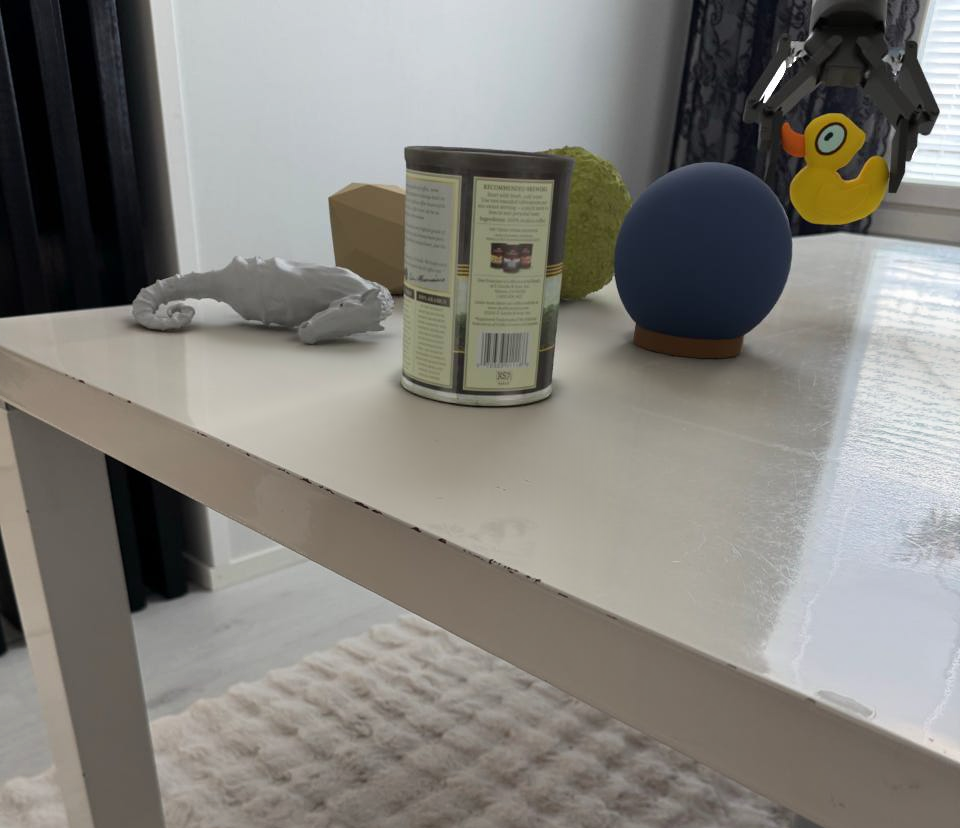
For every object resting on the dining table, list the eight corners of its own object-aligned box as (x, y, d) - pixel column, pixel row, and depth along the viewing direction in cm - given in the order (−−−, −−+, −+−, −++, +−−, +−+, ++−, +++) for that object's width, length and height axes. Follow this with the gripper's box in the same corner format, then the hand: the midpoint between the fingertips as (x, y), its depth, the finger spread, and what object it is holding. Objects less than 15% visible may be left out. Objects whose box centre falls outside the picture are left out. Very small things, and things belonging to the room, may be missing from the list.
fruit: (440, 292, 95) (452, 142, 96) (530, 334, 106) (541, 199, 106) (572, 258, 85) (585, 89, 85) (656, 309, 95) (668, 159, 95)
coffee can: (476, 361, 70) (490, 147, 64) (583, 393, 64) (611, 159, 57) (366, 378, 64) (368, 141, 57) (473, 416, 58) (490, 155, 51)
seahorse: (117, 326, 68) (397, 294, 70) (125, 246, 75) (378, 219, 77) (139, 388, 72) (403, 355, 74) (144, 306, 79) (384, 278, 81)
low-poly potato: (297, 289, 94) (322, 245, 83) (317, 183, 94) (345, 126, 84) (438, 334, 99) (480, 299, 89) (457, 233, 100) (500, 186, 89)
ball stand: (765, 340, 86) (801, 166, 79) (778, 375, 73) (821, 173, 67) (609, 324, 87) (631, 153, 81) (596, 356, 75) (620, 157, 69)
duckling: (766, 222, 97) (787, 109, 92) (761, 217, 102) (781, 110, 97) (882, 230, 96) (909, 117, 91) (871, 225, 100) (896, 117, 96)
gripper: (953, 47, 102) (944, 215, 96) (728, 35, 106) (706, 196, 100) (982, -20, 95) (974, 157, 89) (739, -31, 98) (716, 139, 92)
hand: (833, 178), depth 94 cm, fingers closed on duckling, 11 cm apart
